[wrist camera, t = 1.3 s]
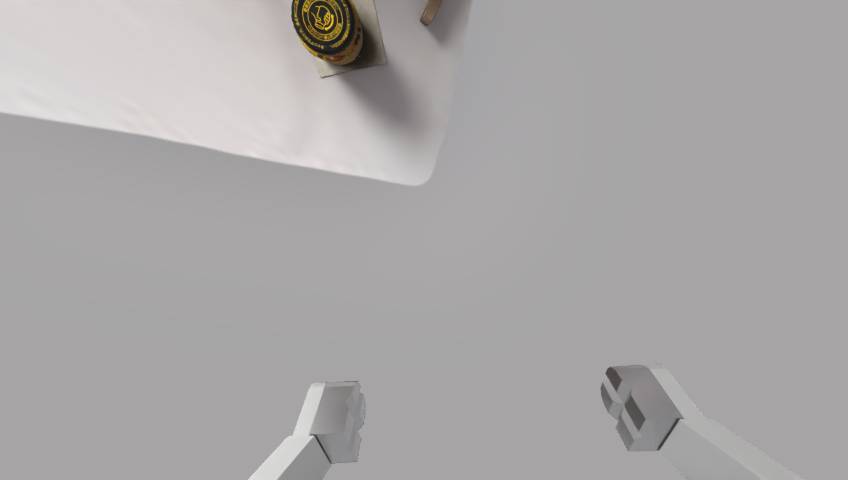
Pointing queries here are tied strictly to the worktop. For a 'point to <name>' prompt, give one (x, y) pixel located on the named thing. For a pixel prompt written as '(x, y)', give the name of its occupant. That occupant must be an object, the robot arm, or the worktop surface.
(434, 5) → the box
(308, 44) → the condiment
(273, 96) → the worktop surface
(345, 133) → the worktop surface
